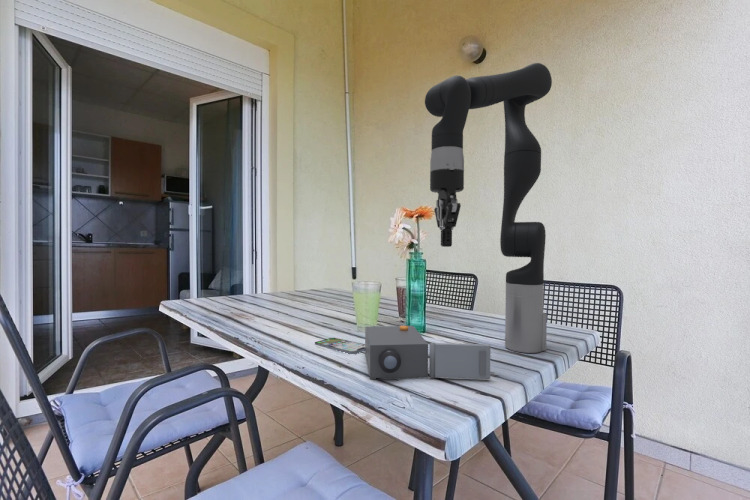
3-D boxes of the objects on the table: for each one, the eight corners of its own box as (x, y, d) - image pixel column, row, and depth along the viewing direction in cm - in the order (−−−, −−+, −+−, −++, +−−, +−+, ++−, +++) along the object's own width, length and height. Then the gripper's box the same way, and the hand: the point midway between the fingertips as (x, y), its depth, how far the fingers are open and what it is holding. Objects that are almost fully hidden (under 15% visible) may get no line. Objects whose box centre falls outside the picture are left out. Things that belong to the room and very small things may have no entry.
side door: (490, 380, 72) (491, 346, 72) (429, 378, 73) (429, 344, 73) (488, 377, 73) (489, 344, 73) (429, 375, 75) (429, 342, 74)
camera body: (413, 353, 90) (414, 322, 90) (430, 379, 73) (430, 341, 73) (365, 354, 89) (365, 323, 89) (370, 381, 72) (370, 343, 72)
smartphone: (332, 337, 104) (372, 345, 94) (332, 341, 104) (372, 349, 94) (312, 342, 98) (352, 352, 89) (313, 346, 98) (352, 356, 89)
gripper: (424, 175, 88) (423, 246, 88) (438, 163, 75) (437, 247, 75) (454, 175, 89) (453, 246, 89) (473, 164, 75) (472, 247, 76)
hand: (446, 246), depth 82 cm, fingers closed
